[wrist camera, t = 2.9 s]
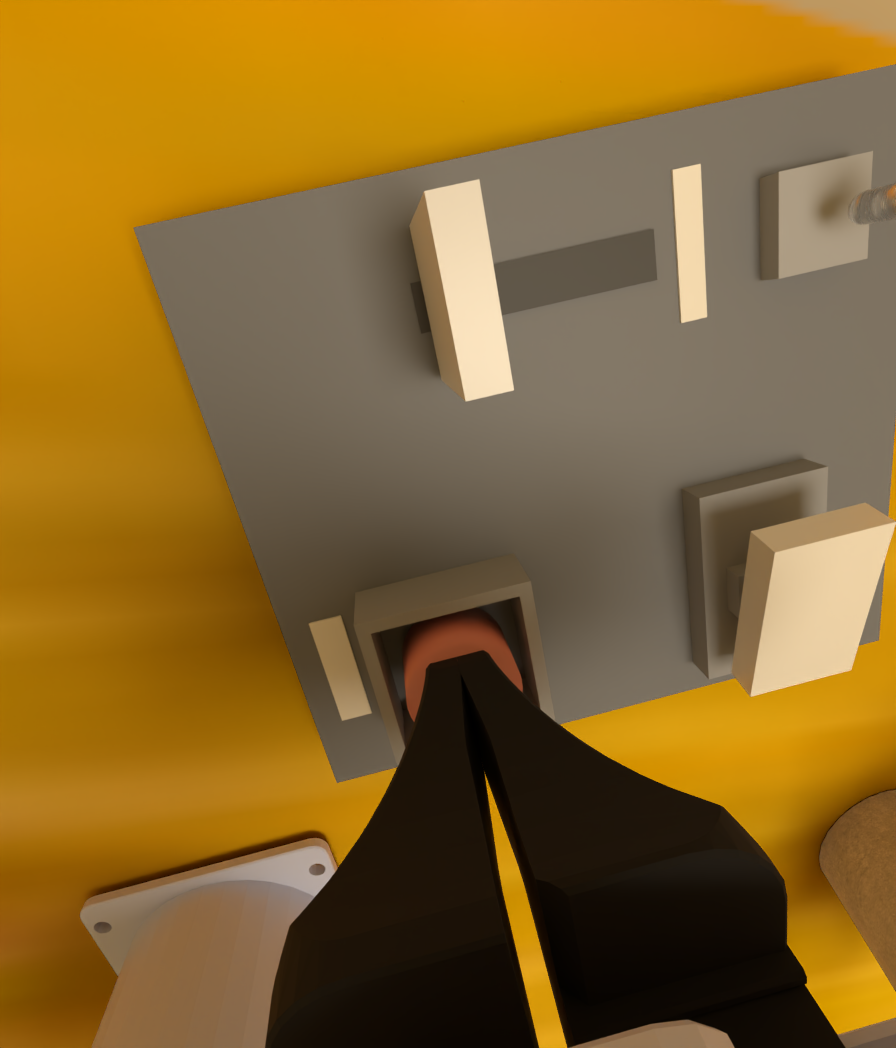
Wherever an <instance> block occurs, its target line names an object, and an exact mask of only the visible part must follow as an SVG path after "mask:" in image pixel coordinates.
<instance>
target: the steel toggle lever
mask: <svg viewBox="0 0 896 1048" xmlns="http://www.w3.org/2000/svg"><path fill="white" fill-rule="evenodd" d="M848 217H849V219H850V221H852V222H853V223H855V224H857V225H866V224H871V223H876V222H881V221H886V220H891V219H896V183H893V184H889V185H885V186H881V187H877V188H873V189H869V190H866V191H863V192H861V193H859V194H858V195H857V196H855V197H854V198H853V200H852V201H851V202H850V204H849V207H848Z"/></svg>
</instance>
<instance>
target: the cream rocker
mask: <svg viewBox="0 0 896 1048" xmlns="http://www.w3.org/2000/svg"><path fill="white" fill-rule="evenodd" d="M895 524H896V521H894V520H892V519H891V518H889V517H888V516H886V515H884V514H883V513H881V512H880V511H878V510H877V509H875V508H873V507H872V506H870V505H869V504H867V503H862V504H858V505H854V506H850V507H846V508H842V509H838V510H834V511H830V512H826V513H822V514H818V515H814V516H810V517H806V518H802V519H798V520H794V521H790V522H786V523H782V524H778V525H774V526H770V527H766V528H762V529H758V530H754V531H751V533H750V540H749V547H748V555H747V562H746V569H745V576H744V584H743V591H742V598H741V605H740V612H739V620H738V627H737V634H736V641H735V649H734V656H733V663H732V670H731V673H732V674H733V675H734V677H735V678H736V679H737V680H738V682H739V683H740V684H741V685H742V687H743V688H744V689H745V690H746V692H747V693H748V694H749V696H750V697H751V696H755V695H759V694H763V693H766V692H770V691H774V690H778V689H781V688H785V687H789V686H793V685H796V684H800V683H804V682H808V681H812V680H815V679H819V678H823V677H827V676H830V675H834V674H838V673H842V672H845V671H849V670H851V669H852V665H853V662H854V659H855V655H856V652H857V649H858V646H859V642H860V639H861V636H862V632H863V629H864V626H865V623H866V619H867V616H868V613H869V609H870V606H871V603H872V600H873V596H874V593H875V590H876V586H877V583H878V580H879V577H880V573H881V570H882V567H883V563H884V560H885V557H886V554H887V550H888V547H889V544H890V540H891V537H892V534H893V531H894V527H895Z"/></svg>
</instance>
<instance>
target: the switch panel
mask: <svg viewBox="0 0 896 1048" xmlns="http://www.w3.org/2000/svg"><path fill="white" fill-rule="evenodd" d="M478 179H479V181H480V187H481V193H482V199H483V205H484V211H485V217H486V223H487V229H488V235H489V241H490V247H491V253H492V259H493V265H494V271H495V277H496V283H497V289H498V296H499V302H500V308H501V314H502V320H503V326H504V332H505V338H506V344H507V350H508V356H509V362H510V368H511V374H512V380H513V386H514V390H513V391H509V392H505V393H500V394H496V395H492V396H488V397H483V398H479V399H475V400H471V401H464V400H463V399H462V398H461V397H460V396H459V395H458V394H457V393H455V392H454V391H453V390H452V389H451V388H450V387H449V386H448V385H446V384H445V383H444V382H443V381H442V380H441V375H440V370H439V365H438V360H437V356H436V351H435V346H434V341H433V337H432V332H431V327H430V322H429V317H428V313H427V308H426V303H425V298H424V294H423V289H422V284H421V279H420V275H419V270H418V265H417V260H416V255H415V251H414V246H413V241H412V236H411V232H410V227H409V225H410V223H411V221H412V218H413V216H414V214H415V211H416V209H417V207H418V204H419V202H420V200H421V197H422V195H423V193H424V191H427V190H432V189H436V188H441V187H445V186H450V185H455V184H459V183H464V182H469V181H473V180H478ZM893 183H896V64H895V65H890V66H886V67H881V68H876V69H872V70H867V71H862V72H858V73H853V74H848V75H844V76H839V77H834V78H830V79H825V80H820V81H816V82H811V83H806V84H802V85H797V86H792V87H788V88H783V89H778V90H774V91H769V92H764V93H760V94H755V95H750V96H746V97H741V98H736V99H732V100H727V101H722V102H718V103H713V104H708V105H704V106H699V107H694V108H690V109H685V110H680V111H676V112H671V113H666V114H662V115H657V116H652V117H648V118H643V119H638V120H634V121H629V122H624V123H620V124H615V125H610V126H606V127H601V128H596V129H592V130H587V131H582V132H578V133H573V134H568V135H564V136H559V137H554V138H550V139H545V140H540V141H536V142H531V143H526V144H522V145H517V146H512V147H508V148H503V149H498V150H494V151H489V152H484V153H480V154H475V155H470V156H466V157H461V158H456V159H452V160H447V161H442V162H438V163H433V164H428V165H424V166H419V167H414V168H410V169H405V170H400V171H396V172H391V173H386V174H382V175H377V176H372V177H368V178H363V179H358V180H354V181H349V182H344V183H340V184H335V185H330V186H326V187H321V188H316V189H312V190H307V191H302V192H298V193H293V194H288V195H284V196H279V197H274V198H270V199H265V200H260V201H256V202H251V203H246V204H242V205H237V206H232V207H228V208H223V209H218V210H214V211H209V212H204V213H200V214H195V215H190V216H186V217H181V218H176V219H172V220H167V221H162V222H158V223H153V224H148V225H144V226H139V227H134V231H135V233H136V236H137V239H138V241H139V244H140V247H141V250H142V252H143V255H144V258H145V261H146V263H147V266H148V269H149V271H150V274H151V277H152V280H153V282H154V285H155V288H156V291H157V293H158V296H159V299H160V301H161V304H162V307H163V310H164V312H165V315H166V318H167V321H168V323H169V326H170V329H171V331H172V334H173V337H174V340H175V342H176V345H177V348H178V351H179V353H180V356H181V359H182V361H183V364H184V367H185V370H186V372H187V375H188V378H189V381H190V383H191V386H192V389H193V391H194V394H195V397H196V400H197V402H198V405H199V408H200V411H201V413H202V416H203V419H204V421H205V424H206V427H207V430H208V432H209V435H210V438H211V441H212V443H213V446H214V449H215V451H216V454H217V457H218V460H219V462H220V465H221V468H222V471H223V473H224V476H225V479H226V481H227V484H228V487H229V490H230V492H231V495H232V498H233V501H234V503H235V506H236V509H237V511H238V514H239V517H240V520H241V522H242V525H243V528H244V531H245V533H246V536H247V539H248V541H249V544H250V547H251V550H252V552H253V555H254V558H255V560H256V563H257V566H258V569H259V571H260V574H261V577H262V580H263V582H264V585H265V588H266V590H267V593H268V596H269V599H270V601H271V604H272V607H273V610H274V612H275V615H276V618H277V620H278V623H279V626H280V629H281V631H282V634H283V637H284V640H285V642H286V645H287V648H288V650H289V653H290V656H291V659H292V661H293V664H294V667H295V670H296V672H297V675H298V678H299V680H300V683H301V686H302V689H303V691H304V694H305V697H306V700H307V702H308V705H309V708H310V710H311V713H312V716H313V719H314V721H315V724H316V727H317V730H318V732H319V735H320V738H321V740H322V743H323V746H324V749H325V751H326V754H327V757H328V760H329V762H330V765H331V768H332V770H333V773H334V776H335V779H336V781H337V783H338V782H342V781H346V780H350V779H354V778H357V777H361V776H365V775H369V774H373V773H376V772H380V771H384V770H388V769H392V768H395V767H398V765H399V763H400V760H401V758H402V755H403V753H404V750H405V747H406V745H407V742H408V740H409V737H410V734H411V731H412V728H413V725H414V721H413V720H412V718H411V716H410V714H409V711H408V707H407V701H406V691H405V680H404V670H403V659H402V648H403V643H404V639H405V637H406V635H407V633H408V631H409V629H410V628H411V627H412V625H413V624H414V623H415V622H419V621H423V620H427V619H431V618H435V617H439V616H443V615H447V614H451V613H455V612H459V611H463V610H467V609H471V608H475V607H477V608H479V609H481V610H483V611H485V612H487V613H488V614H489V615H491V616H492V617H493V618H494V619H495V620H496V621H497V623H498V624H499V626H500V627H501V630H502V632H503V634H504V637H505V639H506V641H507V644H508V646H509V648H510V651H511V653H512V656H513V658H514V660H515V663H516V665H517V668H518V670H519V672H520V675H521V678H522V685H523V693H524V694H525V695H526V696H527V697H528V698H529V699H530V700H531V701H532V702H533V703H534V704H535V705H536V706H537V707H539V708H540V709H541V710H542V711H543V712H544V713H546V714H547V715H548V716H549V717H550V718H552V719H553V720H554V721H555V722H557V723H558V724H563V723H566V722H570V721H574V720H578V719H582V718H585V717H589V716H593V715H597V714H601V713H604V712H608V711H612V710H616V709H619V708H623V707H627V706H631V705H635V704H638V703H642V702H646V701H650V700H654V699H657V698H661V697H665V696H669V695H673V694H676V693H680V692H684V691H688V690H692V689H695V688H699V687H703V686H707V685H711V684H714V683H718V682H722V681H726V680H730V679H733V678H735V677H734V675H733V674H732V673H731V670H732V663H733V656H734V649H735V641H736V634H737V627H738V620H739V612H740V605H741V598H742V591H743V584H744V576H745V569H746V562H747V555H748V547H749V540H750V533H751V531H754V530H758V529H762V528H766V527H770V526H774V525H778V524H782V523H786V522H790V521H794V520H798V519H802V518H806V517H810V516H814V515H818V514H822V513H826V512H830V511H834V510H838V509H842V508H846V507H850V506H854V505H858V504H862V503H867V504H869V505H870V506H872V507H873V508H875V509H877V510H878V511H880V512H881V513H883V514H884V515H886V516H888V512H889V499H890V486H891V472H892V459H893V446H894V433H895V419H896V219H891V220H886V221H881V222H876V223H871V224H866V225H857V224H855V223H853V222H852V221H850V219H849V217H848V207H849V204H850V202H851V201H852V200H853V198H854V197H855V196H857V195H858V194H859V193H861V192H863V191H866V190H869V189H873V188H877V187H881V186H885V185H889V184H893ZM884 565H885V560H884V563H883V567H882V570H881V573H880V577H879V580H878V583H877V586H876V590H875V593H874V596H873V600H872V603H871V606H870V609H869V613H868V616H867V619H866V623H865V626H864V629H863V632H862V636H861V639H860V642H859V645H863V644H866V643H870V642H874V641H878V640H879V631H880V618H881V605H882V592H883V578H884Z"/></svg>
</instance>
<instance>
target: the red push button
mask: <svg viewBox="0 0 896 1048" xmlns="http://www.w3.org/2000/svg"><path fill="white" fill-rule="evenodd" d="M481 650H484V651H486V652H488V653H489V654H490V656H491V657H492V659H493V660H494V662H495V663H496V664H497V666H498V667H499V668H500V669H501V670H502V672H503V673H504V674H505V675H506V676H507V677H508V678H509V679H510V680H511V682H512V683H513V684H514V685H515V686H516V687H517V688H518V689H519V690H520V691H521V692H522V693H523V685H522V678H521V675H520V672H519V670H518V668H517V665H516V663H515V660H514V658H513V656H512V653H511V651H510V648H509V646H508V644H507V641H506V639H505V637H504V634H503V632H502V630H501V627H500V626H499V624H498V623H497V621H496V620H495V619H494V618H493V617H492V616H491V615H489V614H488V613H487V612H485V611H483V610H481V609H479V608H477V607H475V608H471V609H467V610H463V611H459V612H455V613H451V614H447V615H443V616H439V617H435V618H431V619H427V620H423V621H419V622H415V623H414V624H413V625H412V627H411V628H410V629H409V631H408V633H407V635H406V637H405V639H404V643H403V648H402V659H403V670H404V680H405V691H406V701H407V707H408V711H409V714H410V716H411V718H412V720H413V721H414V722H415V718H416V715H417V712H418V708H419V705H420V701H421V697H422V692H423V687H424V682H425V674H426V668H427V667H428V665H429V664H430V663H434V662H438V661H442V660H446V659H450V658H454V657H456V658H457V657H458V656H462V655H466V654H469V653H473V652H477V651H481ZM457 662H458V661H457Z"/></svg>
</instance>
